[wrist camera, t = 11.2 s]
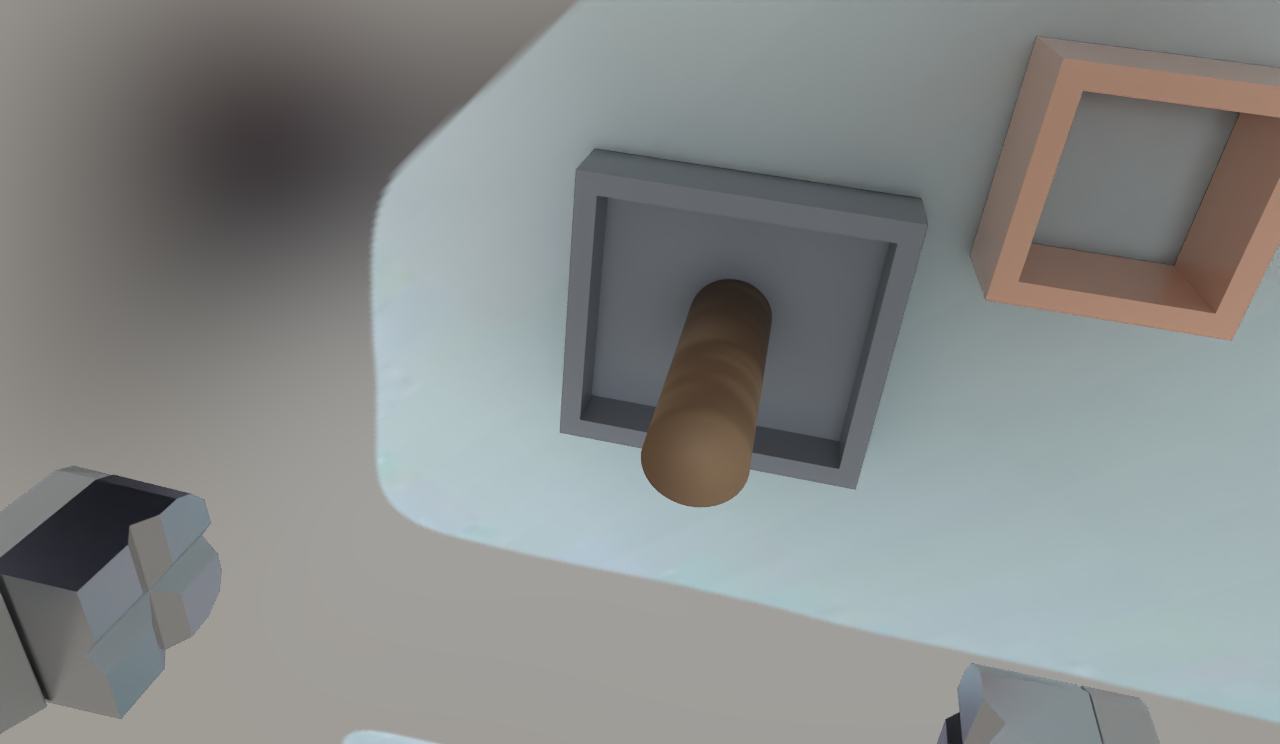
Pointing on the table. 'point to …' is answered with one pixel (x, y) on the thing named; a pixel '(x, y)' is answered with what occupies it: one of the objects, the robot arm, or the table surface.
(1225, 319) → the peach square frame
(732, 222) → the tray
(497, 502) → the table surface
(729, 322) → the dowel
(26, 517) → the robot arm
